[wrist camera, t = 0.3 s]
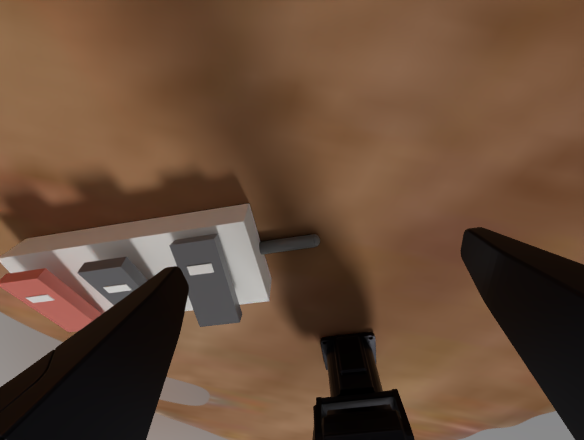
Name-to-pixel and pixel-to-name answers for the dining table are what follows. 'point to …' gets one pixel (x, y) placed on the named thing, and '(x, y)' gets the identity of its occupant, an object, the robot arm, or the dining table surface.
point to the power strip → (158, 250)
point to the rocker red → (50, 298)
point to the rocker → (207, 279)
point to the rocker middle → (112, 277)
